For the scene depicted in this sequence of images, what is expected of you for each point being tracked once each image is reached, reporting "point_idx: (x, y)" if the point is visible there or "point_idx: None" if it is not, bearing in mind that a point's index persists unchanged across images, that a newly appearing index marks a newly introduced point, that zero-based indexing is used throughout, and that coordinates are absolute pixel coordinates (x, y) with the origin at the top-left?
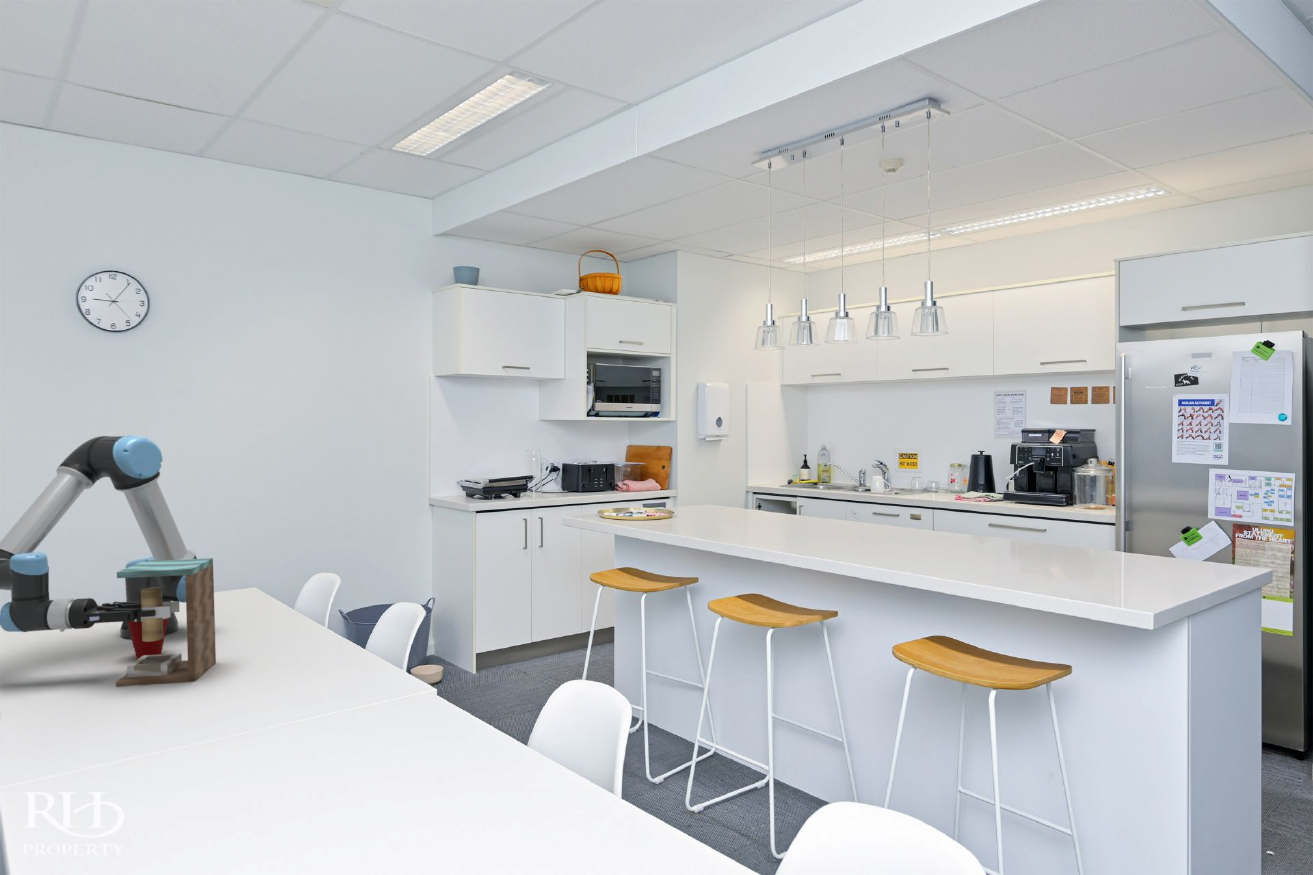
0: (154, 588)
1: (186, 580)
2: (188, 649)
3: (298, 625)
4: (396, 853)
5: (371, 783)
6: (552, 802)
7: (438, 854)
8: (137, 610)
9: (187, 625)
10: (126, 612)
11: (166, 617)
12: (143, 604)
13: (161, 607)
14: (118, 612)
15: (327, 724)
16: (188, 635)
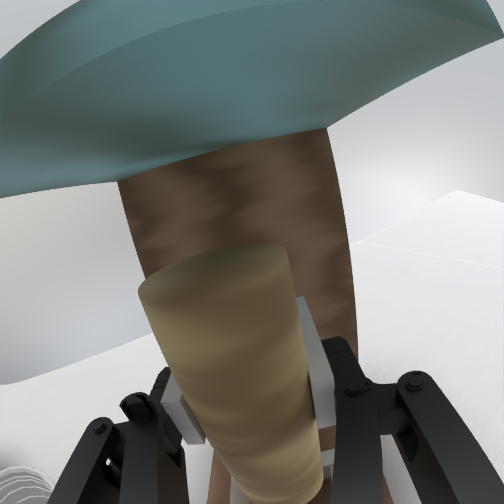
0: (199, 265)
1: (330, 147)
2: (357, 358)
3: (55, 376)
4: (501, 204)
5: (476, 217)
6: (451, 200)
7: (493, 201)
8: (370, 386)
9: (354, 299)
10: (444, 398)
11: (45, 475)
12: (301, 369)
13: (310, 316)
14: (472, 436)
15: (435, 245)
16: (355, 325)
